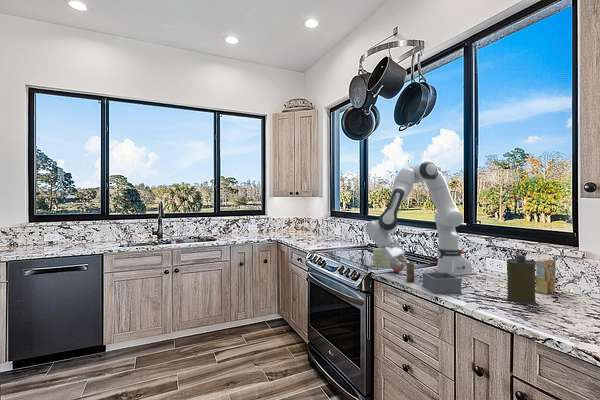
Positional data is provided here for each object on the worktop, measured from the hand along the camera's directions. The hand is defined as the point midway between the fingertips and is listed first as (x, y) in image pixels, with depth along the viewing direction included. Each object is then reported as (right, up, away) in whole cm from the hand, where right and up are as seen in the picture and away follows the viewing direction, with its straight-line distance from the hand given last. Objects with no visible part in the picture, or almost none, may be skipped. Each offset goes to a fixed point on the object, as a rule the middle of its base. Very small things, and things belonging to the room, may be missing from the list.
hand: (403, 263), depth 171 cm
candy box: (+61, -9, -23) cm, 66 cm away
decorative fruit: (+2, -9, +19) cm, 21 cm away
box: (-3, -9, +37) cm, 39 cm away
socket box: (+13, -9, -18) cm, 24 cm away
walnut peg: (+3, -9, -2) cm, 10 cm away
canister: (+40, -9, -35) cm, 54 cm away
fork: (+22, -10, +38) cm, 45 cm away
